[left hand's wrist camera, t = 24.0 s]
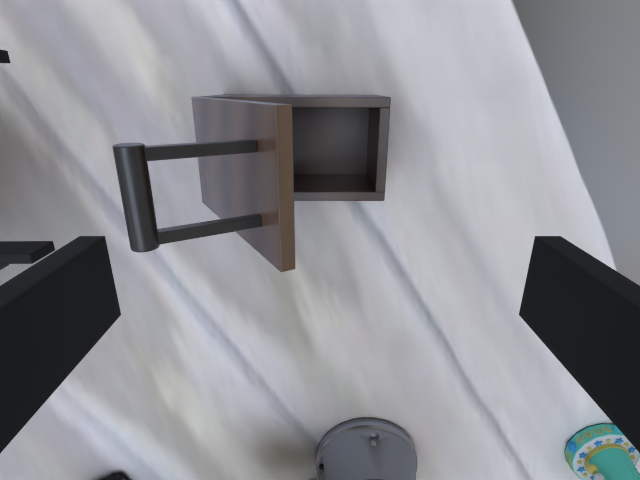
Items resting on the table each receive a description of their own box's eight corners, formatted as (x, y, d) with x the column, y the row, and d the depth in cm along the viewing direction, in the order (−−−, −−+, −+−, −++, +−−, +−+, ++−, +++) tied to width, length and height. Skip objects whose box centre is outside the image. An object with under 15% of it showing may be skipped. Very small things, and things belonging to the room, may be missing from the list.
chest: (376, 94, 44) (390, 97, 35) (372, 180, 47) (384, 201, 38) (222, 94, 44) (198, 96, 35) (229, 179, 47) (209, 200, 38)
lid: (292, 104, 21) (110, 108, 17) (295, 269, 24) (144, 305, 20) (202, 96, 35) (92, 97, 31) (212, 201, 38) (114, 214, 34)
